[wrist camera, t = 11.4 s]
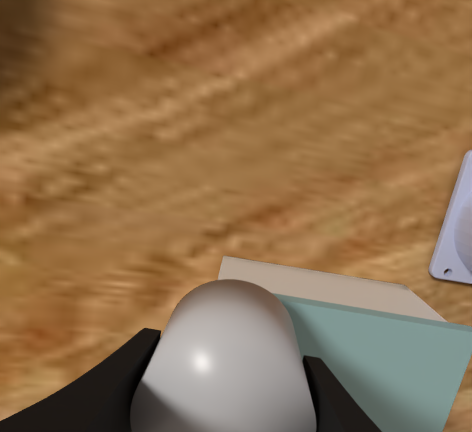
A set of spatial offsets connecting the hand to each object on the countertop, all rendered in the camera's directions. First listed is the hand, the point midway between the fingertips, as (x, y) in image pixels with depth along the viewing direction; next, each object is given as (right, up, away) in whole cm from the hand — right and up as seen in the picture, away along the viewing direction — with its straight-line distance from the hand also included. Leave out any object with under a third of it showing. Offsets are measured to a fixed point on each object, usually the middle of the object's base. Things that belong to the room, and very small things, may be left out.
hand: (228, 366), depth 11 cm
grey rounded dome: (0, 0, +1) cm, 2 cm away
